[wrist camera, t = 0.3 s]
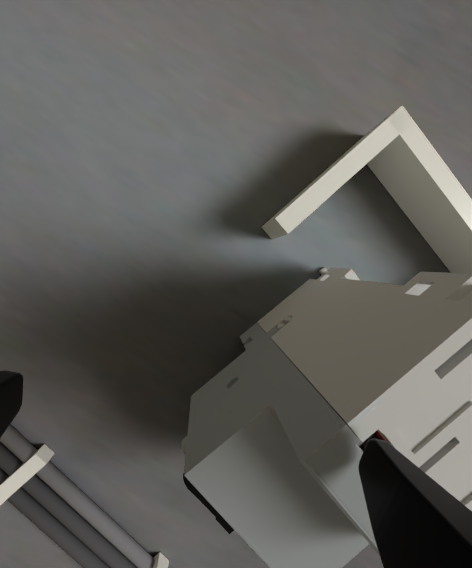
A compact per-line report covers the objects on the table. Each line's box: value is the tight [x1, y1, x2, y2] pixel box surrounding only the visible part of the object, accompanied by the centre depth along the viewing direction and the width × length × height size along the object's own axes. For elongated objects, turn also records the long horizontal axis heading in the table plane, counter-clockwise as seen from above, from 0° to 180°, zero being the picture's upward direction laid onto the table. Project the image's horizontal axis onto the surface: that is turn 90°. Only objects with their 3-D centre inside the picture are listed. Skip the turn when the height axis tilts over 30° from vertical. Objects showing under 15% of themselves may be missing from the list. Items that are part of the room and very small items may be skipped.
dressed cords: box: [0, 425, 169, 568], centre depth 23 cm, size 4×23×1 cm, turn 41°
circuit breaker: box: [181, 268, 472, 568], centre depth 17 cm, size 8×14×15 cm, turn 129°
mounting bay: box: [262, 106, 472, 275], centre depth 22 cm, size 10×14×4 cm
